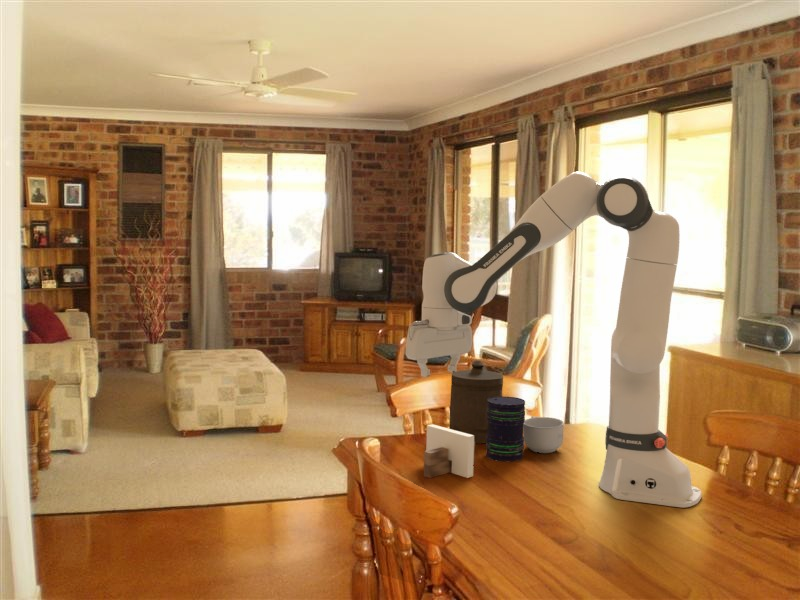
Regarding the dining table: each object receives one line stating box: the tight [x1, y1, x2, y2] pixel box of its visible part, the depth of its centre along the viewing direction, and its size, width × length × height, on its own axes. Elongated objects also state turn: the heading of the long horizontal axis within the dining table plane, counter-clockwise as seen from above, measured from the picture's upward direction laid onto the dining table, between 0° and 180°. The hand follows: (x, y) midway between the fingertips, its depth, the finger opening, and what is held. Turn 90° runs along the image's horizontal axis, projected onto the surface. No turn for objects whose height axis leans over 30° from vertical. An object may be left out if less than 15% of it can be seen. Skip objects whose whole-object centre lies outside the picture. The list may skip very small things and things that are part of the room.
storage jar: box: [485, 395, 526, 462], centre depth 213 cm, size 10×10×15 cm
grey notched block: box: [423, 442, 476, 479], centre depth 201 cm, size 16×2×6 cm, turn 133°
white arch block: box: [425, 423, 474, 479], centre depth 201 cm, size 14×2×10 cm, turn 43°
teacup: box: [523, 415, 565, 454], centre depth 222 cm, size 14×11×8 cm
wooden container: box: [448, 360, 504, 445], centre depth 232 cm, size 15×15×22 cm
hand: (438, 374), depth 202 cm, fingers open, 8 cm apart
